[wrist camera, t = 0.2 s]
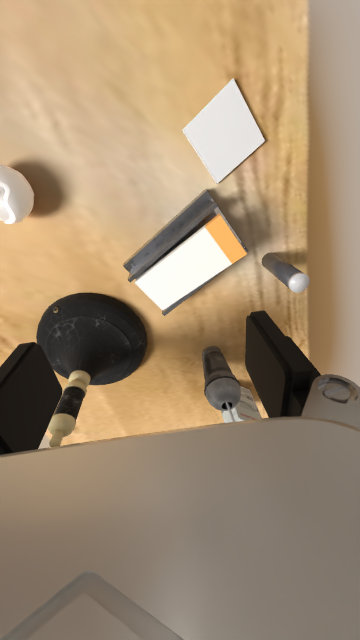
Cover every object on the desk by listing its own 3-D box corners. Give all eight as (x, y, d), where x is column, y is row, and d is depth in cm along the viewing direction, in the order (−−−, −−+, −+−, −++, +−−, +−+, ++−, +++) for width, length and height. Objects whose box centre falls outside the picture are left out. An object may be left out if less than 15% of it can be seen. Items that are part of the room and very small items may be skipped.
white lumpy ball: (-22, 175, 38) (-61, 175, 31) (19, 153, 37) (-11, 148, 30) (15, 226, 42) (-13, 236, 35) (53, 207, 41) (33, 213, 34)
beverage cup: (217, 336, 56) (243, 406, 39) (231, 356, 60) (261, 429, 42) (190, 351, 58) (204, 425, 41) (206, 370, 61) (225, 445, 44)
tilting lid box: (166, 305, 51) (167, 322, 45) (124, 262, 46) (119, 275, 40) (242, 245, 46) (255, 255, 40) (205, 189, 41) (213, 191, 35)
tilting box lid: (163, 306, 45) (162, 310, 44) (136, 279, 42) (134, 282, 41) (245, 251, 38) (246, 254, 37) (219, 213, 35) (220, 215, 34)
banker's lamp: (113, 267, 47) (-14, 527, 12) (172, 350, 57) (193, 611, 23) (7, 328, 51) (-300, 639, 17) (80, 394, 62) (-15, 664, 28)
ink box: (214, 390, 65) (224, 430, 55) (225, 378, 63) (238, 417, 53) (239, 401, 68) (253, 441, 58) (251, 389, 66) (268, 429, 56)
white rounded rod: (259, 259, 48) (286, 282, 38) (272, 249, 47) (304, 270, 37) (266, 270, 49) (295, 295, 39) (279, 261, 48) (312, 284, 38)
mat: (182, 130, 37) (182, 129, 36) (231, 80, 34) (233, 78, 34) (216, 183, 41) (217, 183, 40) (263, 141, 38) (265, 140, 38)
